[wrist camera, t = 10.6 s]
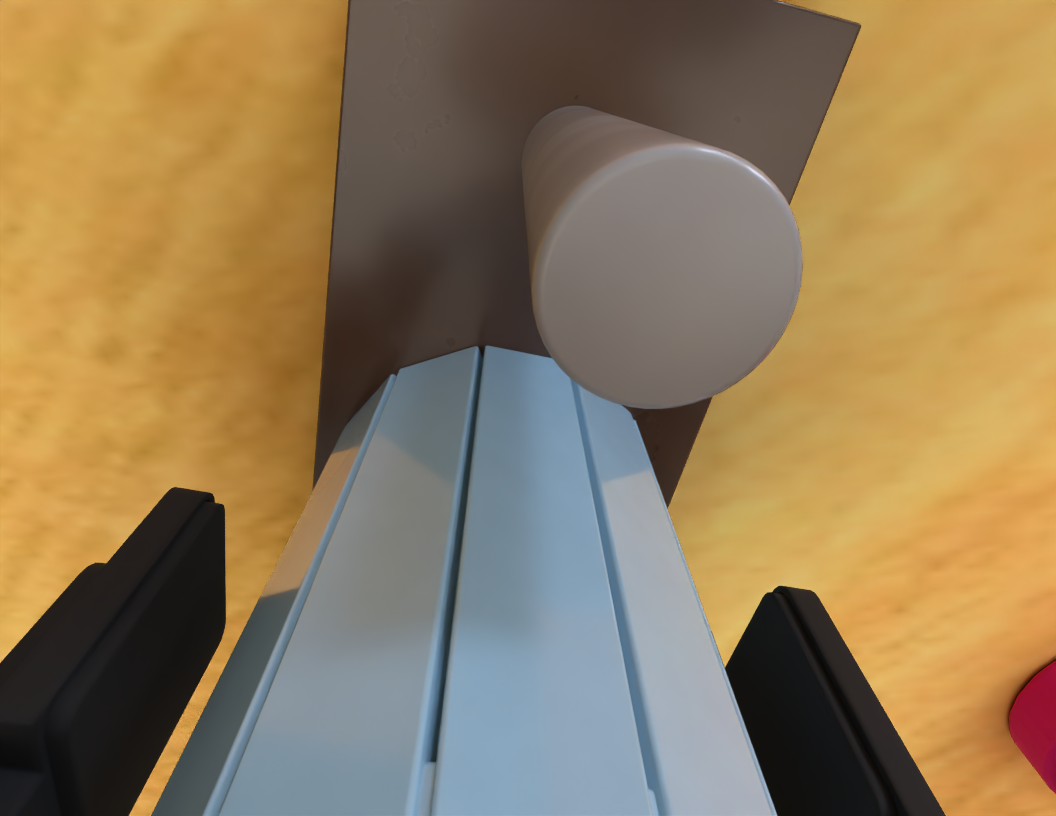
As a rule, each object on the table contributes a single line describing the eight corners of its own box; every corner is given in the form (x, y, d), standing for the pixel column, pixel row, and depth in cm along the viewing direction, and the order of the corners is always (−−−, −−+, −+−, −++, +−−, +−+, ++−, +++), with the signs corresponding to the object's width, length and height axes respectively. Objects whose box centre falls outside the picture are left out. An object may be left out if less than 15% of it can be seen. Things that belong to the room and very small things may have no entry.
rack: (376, -93, 10) (-119, -725, 2) (822, 31, 11) (1599, -105, 3) (309, 698, 19) (162, 1134, 11) (558, 729, 20) (586, 1153, 12)
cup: (352, 317, 12) (24, 789, 4) (690, 384, 13) (984, 890, 5) (327, 581, 15) (115, 1144, 7) (600, 622, 16) (686, 1168, 8)
